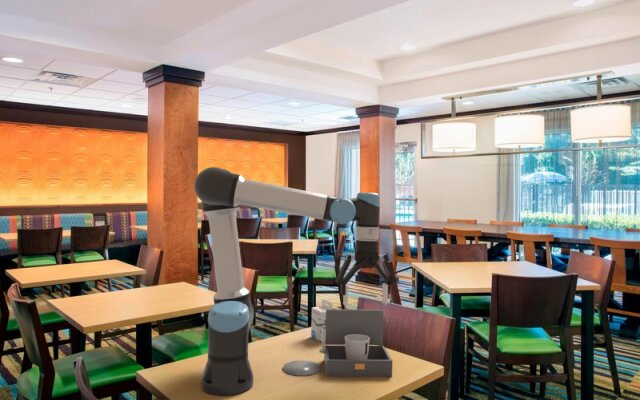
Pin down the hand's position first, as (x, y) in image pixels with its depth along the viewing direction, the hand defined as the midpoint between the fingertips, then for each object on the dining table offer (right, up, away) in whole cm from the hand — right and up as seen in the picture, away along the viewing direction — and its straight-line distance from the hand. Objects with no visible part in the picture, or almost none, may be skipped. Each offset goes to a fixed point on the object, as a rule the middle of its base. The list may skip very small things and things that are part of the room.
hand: (365, 304), depth 154 cm
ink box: (-14, -21, +31) cm, 40 cm away
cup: (-3, -21, 0) cm, 21 cm away
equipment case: (-3, -21, 0) cm, 21 cm away
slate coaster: (-21, -21, -2) cm, 29 cm away
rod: (-11, -21, +16) cm, 28 cm away
